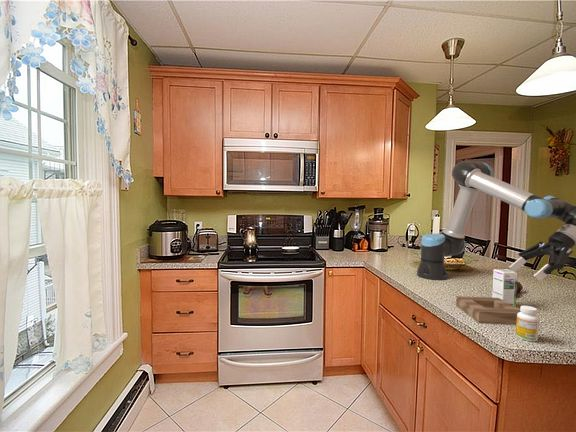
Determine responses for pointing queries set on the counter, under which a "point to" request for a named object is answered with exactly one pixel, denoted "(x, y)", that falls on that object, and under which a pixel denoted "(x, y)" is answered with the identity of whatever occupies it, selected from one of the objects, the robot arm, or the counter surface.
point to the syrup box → (505, 285)
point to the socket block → (488, 309)
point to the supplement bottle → (527, 324)
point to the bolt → (519, 287)
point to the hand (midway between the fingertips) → (523, 273)
